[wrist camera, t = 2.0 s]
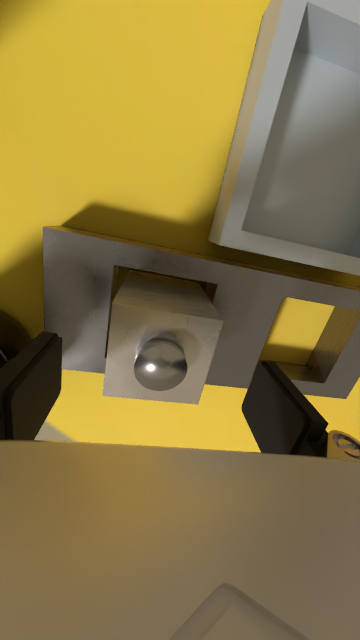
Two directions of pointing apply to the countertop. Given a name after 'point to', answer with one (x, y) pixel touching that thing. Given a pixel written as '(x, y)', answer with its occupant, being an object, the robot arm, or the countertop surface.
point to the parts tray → (298, 140)
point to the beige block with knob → (160, 339)
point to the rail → (222, 290)
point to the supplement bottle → (11, 339)
